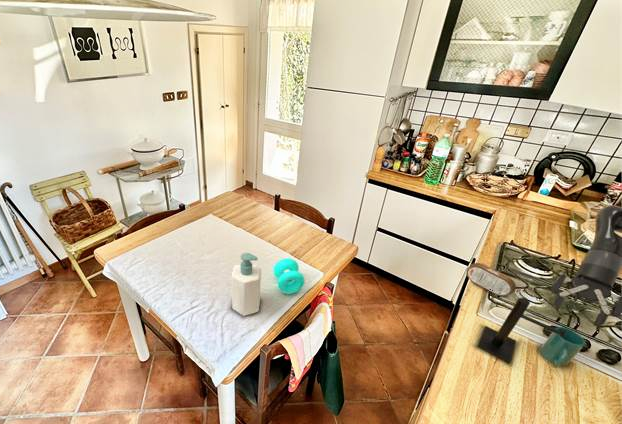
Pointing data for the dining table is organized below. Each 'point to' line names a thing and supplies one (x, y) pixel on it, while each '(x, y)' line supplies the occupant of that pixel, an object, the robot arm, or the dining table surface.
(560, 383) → the dining table surface
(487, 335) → the mug stand
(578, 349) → the mug
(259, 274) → the soap bottle
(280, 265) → the turquoise dumbbell
